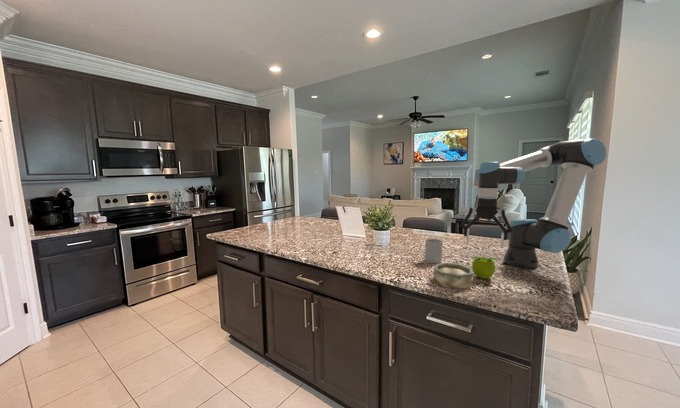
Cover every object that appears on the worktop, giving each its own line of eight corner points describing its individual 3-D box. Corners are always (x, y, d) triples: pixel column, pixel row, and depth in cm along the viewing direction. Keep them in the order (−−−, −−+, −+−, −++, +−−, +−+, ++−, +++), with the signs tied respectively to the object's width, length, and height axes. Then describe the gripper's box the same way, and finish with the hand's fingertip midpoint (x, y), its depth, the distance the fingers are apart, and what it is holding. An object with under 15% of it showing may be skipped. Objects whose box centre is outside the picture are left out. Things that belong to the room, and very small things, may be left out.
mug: (438, 264, 146) (439, 243, 144) (422, 261, 151) (423, 241, 149) (445, 258, 155) (446, 239, 154) (430, 256, 160) (431, 237, 159)
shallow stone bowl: (473, 277, 128) (473, 265, 127) (472, 291, 113) (473, 278, 113) (435, 272, 135) (436, 261, 134) (431, 284, 120) (431, 272, 120)
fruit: (493, 283, 122) (495, 260, 120) (470, 278, 126) (471, 257, 125) (495, 276, 129) (496, 255, 128) (472, 272, 134) (474, 251, 133)
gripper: (519, 198, 122) (515, 246, 124) (457, 195, 132) (454, 240, 135) (522, 200, 115) (518, 251, 117) (456, 197, 126) (453, 244, 128)
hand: (484, 245), depth 126 cm, fingers open, 13 cm apart
